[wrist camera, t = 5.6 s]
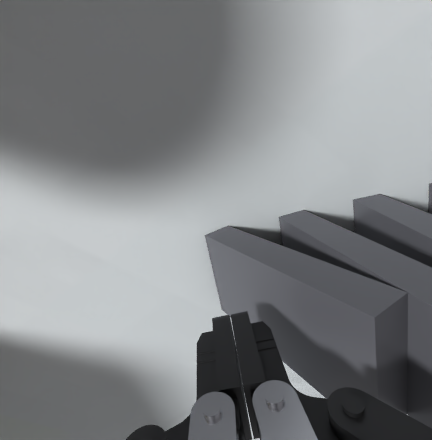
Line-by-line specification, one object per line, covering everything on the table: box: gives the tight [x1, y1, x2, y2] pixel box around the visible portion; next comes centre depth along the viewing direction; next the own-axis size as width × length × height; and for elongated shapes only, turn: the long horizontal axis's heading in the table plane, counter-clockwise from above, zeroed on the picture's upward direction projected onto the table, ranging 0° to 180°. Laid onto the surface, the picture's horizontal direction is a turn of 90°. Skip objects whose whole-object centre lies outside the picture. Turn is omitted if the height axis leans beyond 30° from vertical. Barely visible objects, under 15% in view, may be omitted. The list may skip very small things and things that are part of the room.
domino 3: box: [279, 210, 432, 428], centre depth 13 cm, size 5×2×10 cm, turn 11°
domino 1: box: [205, 226, 408, 414], centre depth 14 cm, size 5×2×10 cm, turn 11°
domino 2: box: [353, 194, 432, 267], centre depth 13 cm, size 5×2×10 cm, turn 11°
